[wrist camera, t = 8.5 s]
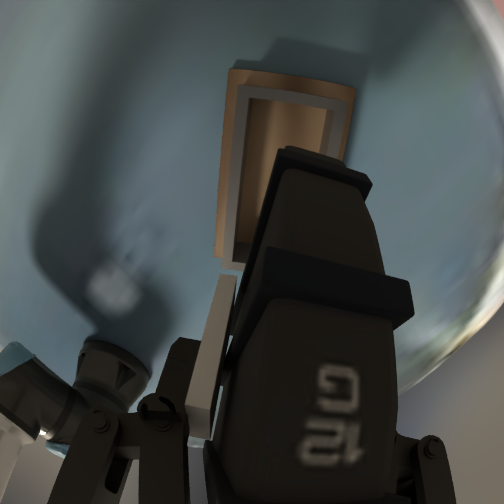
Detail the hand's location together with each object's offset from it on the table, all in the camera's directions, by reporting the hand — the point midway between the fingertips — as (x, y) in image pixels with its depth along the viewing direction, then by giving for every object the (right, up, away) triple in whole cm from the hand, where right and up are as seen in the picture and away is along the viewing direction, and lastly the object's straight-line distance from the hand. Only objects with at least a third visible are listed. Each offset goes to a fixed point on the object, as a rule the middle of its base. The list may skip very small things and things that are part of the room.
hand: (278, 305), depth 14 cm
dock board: (+2, +10, +17) cm, 20 cm away
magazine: (0, +2, +3) cm, 4 cm away
